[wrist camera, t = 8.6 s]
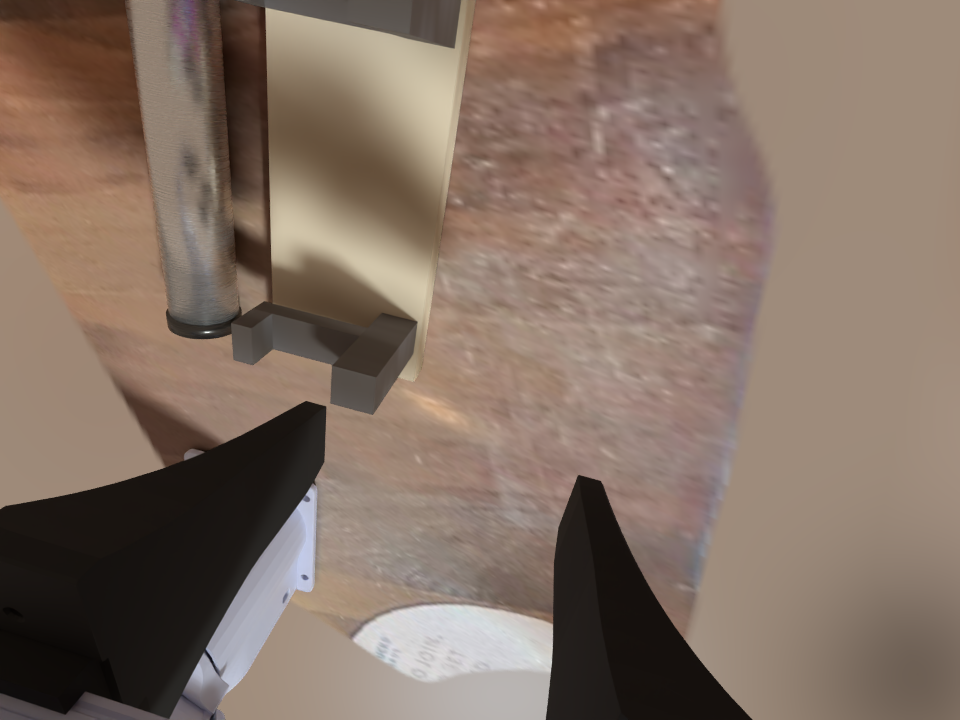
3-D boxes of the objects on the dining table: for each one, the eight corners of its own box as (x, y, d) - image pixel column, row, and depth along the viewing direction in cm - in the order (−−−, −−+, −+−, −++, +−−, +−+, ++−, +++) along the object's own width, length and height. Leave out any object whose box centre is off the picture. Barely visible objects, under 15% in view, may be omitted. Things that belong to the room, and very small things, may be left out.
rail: (255, 319, 24) (213, 345, 22) (199, 303, 25) (151, 327, 22) (237, -82, 17) (169, -114, 14) (157, -97, 17) (77, -131, 15)
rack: (421, 369, 24) (375, 446, 19) (286, 333, 24) (204, 399, 19) (484, -57, 16) (434, -129, 11) (283, -96, 16) (142, -182, 11)
